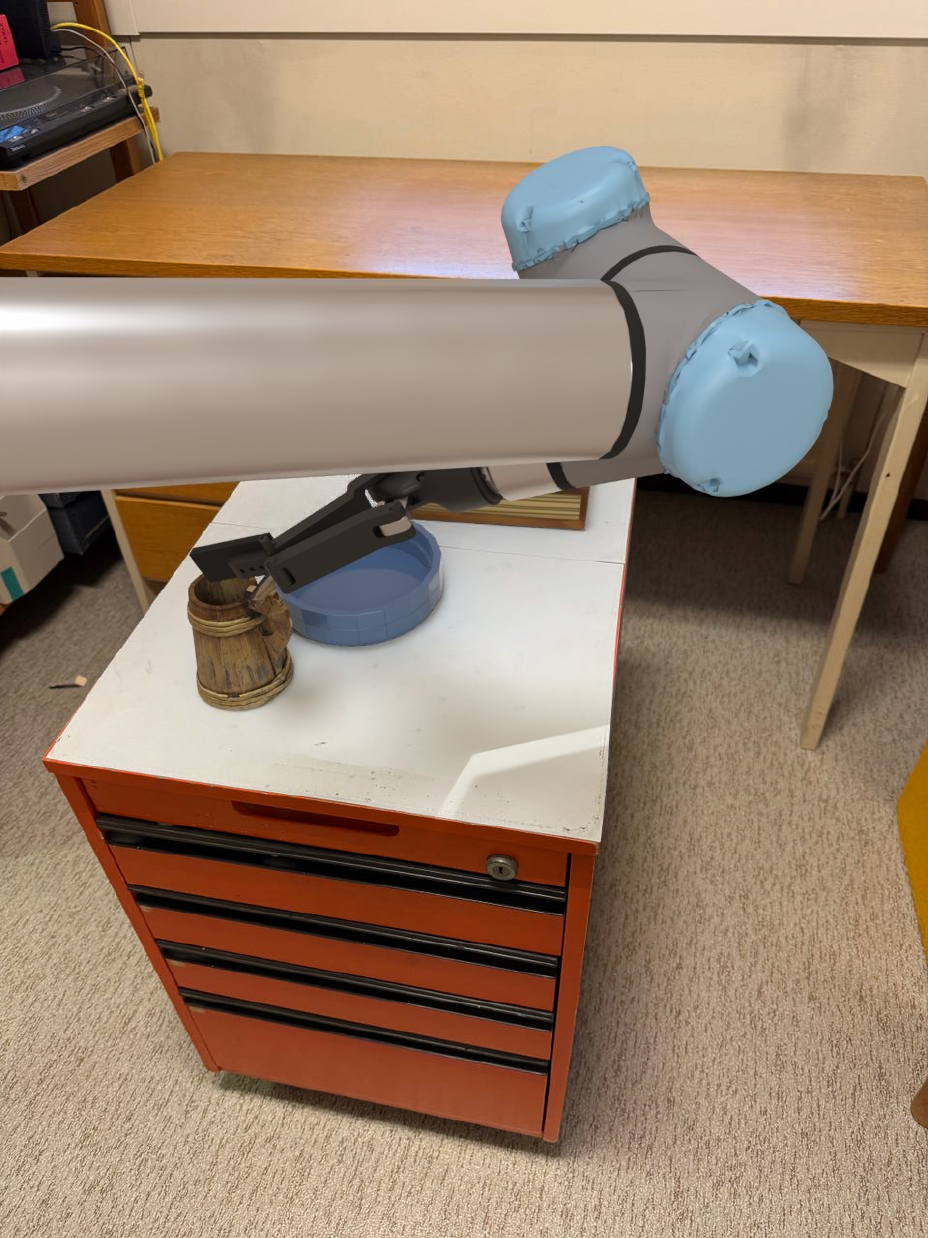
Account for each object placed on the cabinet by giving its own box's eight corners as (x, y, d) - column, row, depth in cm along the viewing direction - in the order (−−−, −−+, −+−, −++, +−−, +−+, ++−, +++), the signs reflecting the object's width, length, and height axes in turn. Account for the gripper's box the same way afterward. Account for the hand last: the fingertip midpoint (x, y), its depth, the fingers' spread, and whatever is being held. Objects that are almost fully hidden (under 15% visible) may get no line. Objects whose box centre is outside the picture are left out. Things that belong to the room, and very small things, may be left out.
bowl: (286, 664, 86) (278, 630, 83) (270, 560, 99) (263, 527, 96) (460, 630, 89) (458, 596, 86) (423, 533, 102) (420, 500, 99)
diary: (594, 448, 115) (596, 408, 111) (584, 531, 101) (587, 488, 98) (421, 438, 119) (419, 399, 115) (389, 517, 105) (385, 475, 101)
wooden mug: (299, 737, 79) (262, 580, 67) (178, 695, 83) (125, 540, 72) (350, 673, 85) (324, 518, 73) (235, 636, 89) (193, 485, 78)
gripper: (481, 618, 53) (199, 659, 61) (534, 396, 70) (308, 451, 78) (433, 523, 48) (135, 581, 56) (502, 310, 65) (265, 378, 73)
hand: (235, 506), depth 67 cm, fingers open, 13 cm apart
